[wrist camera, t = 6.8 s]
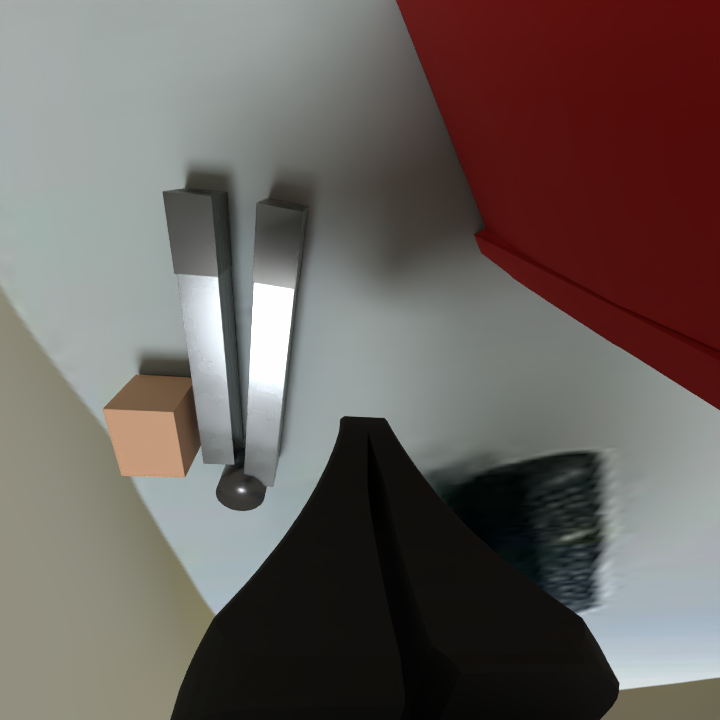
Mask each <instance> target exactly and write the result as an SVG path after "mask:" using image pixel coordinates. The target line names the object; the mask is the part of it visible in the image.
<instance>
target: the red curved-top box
mask: <svg viewBox="0 0 720 720" xmlns="http://www.w3.org/2000/svg"><path fill="white" fill-rule="evenodd" d="M396 1H397V4H398V6H399V9H400V11H401V14H402V16H403V19H404V21H405V24H406V26H407V29H408V32H409V34H410V37H411V39H412V42H413V44H414V47H415V49H416V52H417V54H418V57H419V59H420V62H421V64H422V67H423V70H424V72H425V75H426V77H427V80H428V82H429V85H430V87H431V90H432V92H433V95H434V97H435V100H436V102H437V105H438V108H439V110H440V113H441V115H442V118H443V120H444V123H445V125H446V128H447V130H448V133H449V135H450V138H451V140H452V143H453V146H454V148H455V151H456V153H457V156H458V158H459V161H460V163H461V166H462V168H463V171H464V173H465V176H466V178H467V181H468V184H469V186H470V189H471V191H472V194H473V196H474V199H475V201H476V204H477V206H478V209H479V211H480V214H481V216H482V219H483V221H484V224H485V228H484V229H483V230H482V231H480V232H478V233H477V234H475V235H474V236H475V238H476V241H477V243H478V246H479V248H480V251H481V253H482V254H484V255H485V256H486V257H488V258H489V259H490V260H491V261H493V262H494V263H495V264H497V265H498V266H499V267H501V268H502V269H503V270H505V271H506V272H507V273H509V274H510V275H511V276H512V277H513V278H514V279H515V280H517V281H518V282H520V283H521V284H523V285H524V286H526V287H527V288H529V289H530V290H532V291H533V292H535V293H536V294H538V295H539V296H541V297H542V298H544V299H545V300H547V301H548V302H550V303H551V304H553V305H554V306H556V307H557V308H559V309H560V310H562V311H564V312H565V313H567V314H568V315H570V316H571V317H573V318H574V319H576V320H577V321H579V322H580V323H582V324H584V325H585V326H587V327H588V328H590V329H591V330H593V331H594V332H596V333H597V334H599V335H600V336H602V337H604V338H605V339H607V340H608V341H610V342H611V343H613V344H615V345H616V346H618V347H620V348H622V349H624V350H625V351H627V352H628V353H630V354H632V355H633V356H635V357H636V358H638V359H640V360H641V361H643V362H644V363H646V364H647V365H649V366H651V367H652V368H654V369H655V370H657V371H659V372H660V373H662V374H663V375H665V376H667V377H668V378H670V379H671V380H673V381H674V382H676V383H678V384H679V385H681V386H682V387H684V388H686V389H687V390H689V391H690V392H692V393H693V394H695V395H697V396H698V397H700V398H701V399H703V400H705V401H706V402H708V403H709V404H711V405H712V406H714V407H716V408H717V409H719V410H720V0H396Z"/></svg>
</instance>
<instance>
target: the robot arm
mask: <svg viewBox="0 0 720 720" xmlns="http://www.w3.org/2000/svg"><path fill="white" fill-rule="evenodd" d="M618 693H619V682H618V680H617V678H616V676H615V674H614V673H613V671H612V669H611V667H610V665H609V663H608V662H607V660H606V657H605V656H604V654H603V652H602V650H601V648H600V646H599V644H598V643H597V641H596V639H595V638H594V636H593V635H592V633H591V632H590V630H589V628H588V627H587V625H586V623H585V622H584V620H583V619H582V618H581V617H580V616H579V615H577V614H576V613H574V612H573V611H572V610H570V609H569V608H567V607H566V606H564V605H563V604H562V603H560V602H559V601H557V600H556V599H555V598H553V597H552V596H550V595H549V594H548V593H546V592H545V591H543V590H542V589H541V588H539V587H538V586H536V585H535V584H534V583H532V582H531V581H530V580H529V579H527V578H526V577H525V576H524V575H522V574H521V573H520V572H519V571H517V570H516V569H515V568H514V567H512V566H511V565H510V564H508V563H507V562H506V561H505V560H504V559H503V558H501V557H500V556H499V555H498V554H497V553H496V552H494V551H493V550H492V549H491V548H490V547H489V546H488V545H487V544H486V543H484V542H483V541H482V540H481V539H480V538H479V537H478V536H477V535H476V534H475V533H473V532H472V531H471V530H470V529H469V528H468V527H467V526H466V525H465V524H464V523H463V522H462V521H461V520H460V519H459V518H458V517H457V516H456V514H455V513H454V512H453V511H452V510H451V509H450V508H449V507H448V506H447V505H446V504H445V502H444V501H443V500H442V499H441V498H440V497H439V495H438V494H437V493H436V492H435V491H434V489H433V488H432V487H431V486H430V484H429V483H428V482H427V481H426V479H425V478H424V477H423V475H422V474H421V473H420V471H419V470H418V469H417V467H416V466H415V464H414V463H413V462H412V460H411V459H410V457H409V456H408V454H407V453H406V451H405V450H404V448H403V447H402V445H401V444H400V442H399V441H398V439H397V437H396V436H395V434H394V432H393V431H392V429H391V427H390V425H389V423H388V422H387V420H386V419H385V418H371V417H349V416H344V417H343V418H341V419H340V429H339V433H338V437H337V440H336V443H335V446H334V449H333V451H332V454H331V456H330V459H329V461H328V463H327V466H326V468H325V470H324V472H323V474H322V476H321V478H320V480H319V482H318V484H317V486H316V487H315V489H314V491H313V493H312V495H311V496H310V498H309V500H308V501H307V503H306V505H305V506H304V508H303V509H302V511H301V513H300V514H299V516H298V517H297V519H296V520H295V522H294V523H293V524H292V526H291V527H290V529H289V530H288V532H287V533H286V535H285V536H284V537H283V539H282V540H281V541H280V543H279V544H278V545H277V547H276V548H275V549H274V550H273V552H272V553H271V554H270V555H269V556H268V558H267V559H266V560H265V561H264V563H263V564H262V565H261V566H260V568H259V569H258V570H257V571H256V573H255V574H254V575H253V576H252V577H251V578H250V579H249V581H248V582H247V583H246V584H245V585H244V586H243V587H242V588H241V589H240V590H239V592H238V593H237V594H236V595H235V596H234V597H233V598H232V599H231V600H230V601H229V602H228V603H227V604H226V606H225V607H224V608H223V609H222V610H221V611H220V612H219V613H218V614H217V615H216V616H215V618H214V619H213V620H212V622H211V624H210V626H209V628H208V629H207V631H206V633H205V635H204V637H203V639H202V641H201V643H200V644H199V647H198V649H197V650H196V652H195V655H194V657H193V659H192V661H191V663H190V665H189V668H188V670H187V672H186V675H185V677H184V680H183V682H182V685H181V687H180V690H179V693H178V696H177V700H176V703H175V706H174V710H173V713H172V716H171V719H170V720H600V719H601V718H602V717H603V716H604V715H605V714H606V713H607V711H608V710H609V709H610V708H611V707H612V706H613V704H614V702H615V701H616V700H617V697H618Z"/></svg>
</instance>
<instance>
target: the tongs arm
mask: <svg viewBox="0 0 720 720" xmlns="http://www.w3.org/2000/svg"><path fill="white" fill-rule="evenodd" d="M307 208H308V206H303V205H298V204H293V203H288V202H283V201H278V200H272V199H264V200H262V201H260V202H258V203H257V207H256V226H255V246H254V265H253V283H254V299H253V317H252V336H251V354H250V373H249V392H248V410H247V429H246V448H245V449H241V450H239V453H238V456H237V459H236V462H235V464H234V465H232V464H226V465H225V468H224V470H223V473H222V476H221V478H220V481H219V484H218V486H217V489H216V496H217V498H218V500H219V501H220V502H221V503H222V504H223V505H224V506H226V507H228V508H230V509H233V510H238V511H247V510H252V509H255V508H257V507H258V506H259V505H261V503H262V502H263V500H264V497H265V492H266V488H267V486H270V487H273V485H274V480H275V475H276V471H277V466H278V461H279V452H280V443H281V433H282V424H283V415H284V406H285V397H286V388H287V379H288V370H289V361H290V351H291V342H292V333H293V324H294V315H295V306H296V297H297V288H298V280H299V277H300V271H301V262H302V253H303V244H304V235H305V226H306V217H307Z"/></svg>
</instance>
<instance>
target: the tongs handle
mask: <svg viewBox="0 0 720 720" xmlns="http://www.w3.org/2000/svg"><path fill="white" fill-rule="evenodd" d="M163 198H164V205H165V212H166V219H167V226H168V232H169V239H170V246H171V253H172V260H173V267H174V274H177V279H178V286H179V293H180V300H181V307H182V314H183V321H184V328H185V335H186V342H187V349H188V357H189V364H190V371H191V378H192V385H193V392H194V399H195V406H196V413H197V420H198V427H199V434H200V442H201V449H202V456H203V463H204V464H232V465H234V464H235V462H236V459H237V456H238V453H239V450H240V447H241V444H242V442H243V431H242V417H241V403H240V389H239V375H238V361H237V347H236V333H235V319H234V305H233V291H232V277H231V265H232V261H231V247H230V232H229V218H228V204H227V192H218V191H207V190H197V189H187V188H183V189H176V190H169V191H163Z"/></svg>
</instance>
